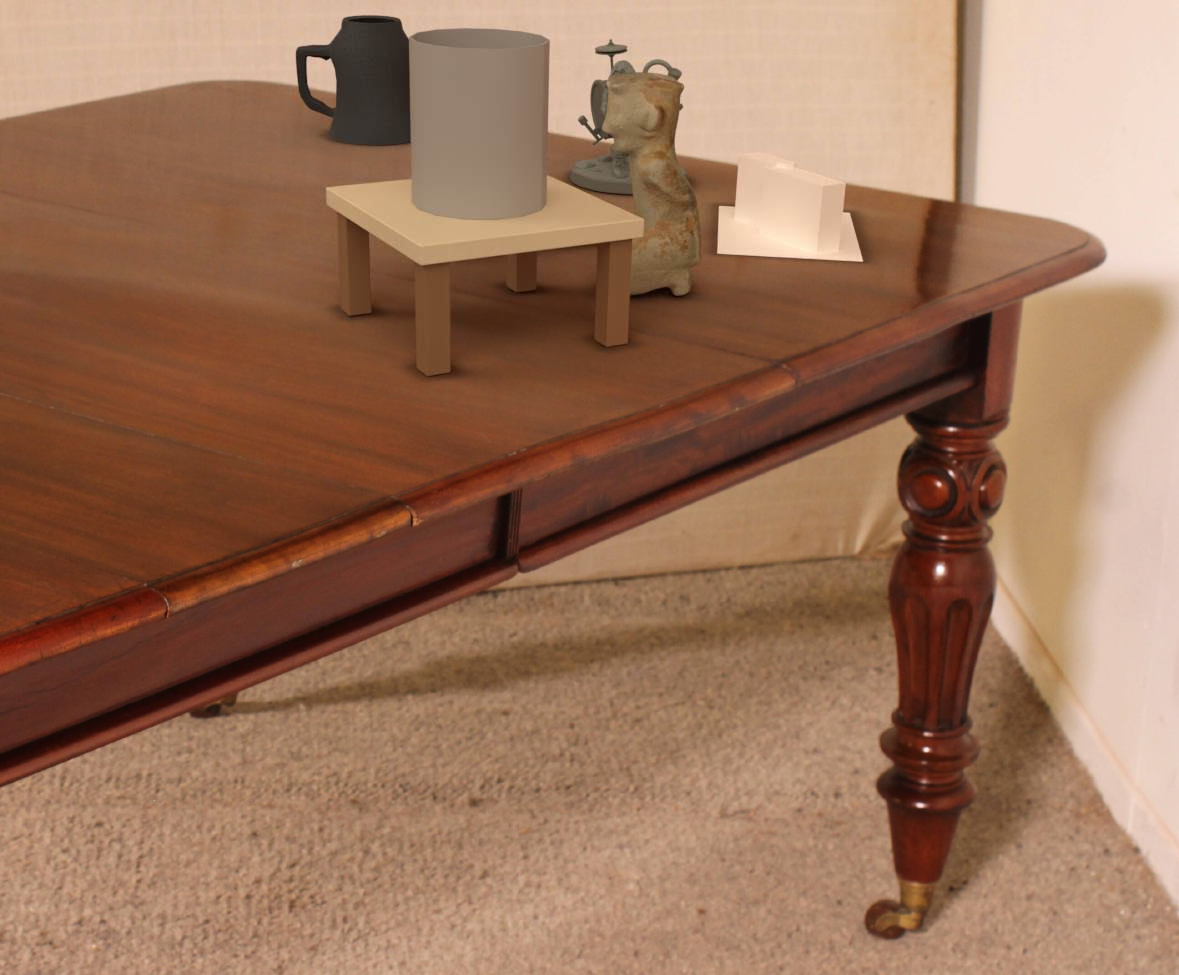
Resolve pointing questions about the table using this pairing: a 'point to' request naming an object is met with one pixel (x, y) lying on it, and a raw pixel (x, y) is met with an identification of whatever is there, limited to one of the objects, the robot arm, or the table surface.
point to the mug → (364, 81)
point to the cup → (479, 122)
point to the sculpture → (655, 180)
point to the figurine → (607, 169)
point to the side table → (480, 253)
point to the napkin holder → (786, 213)
